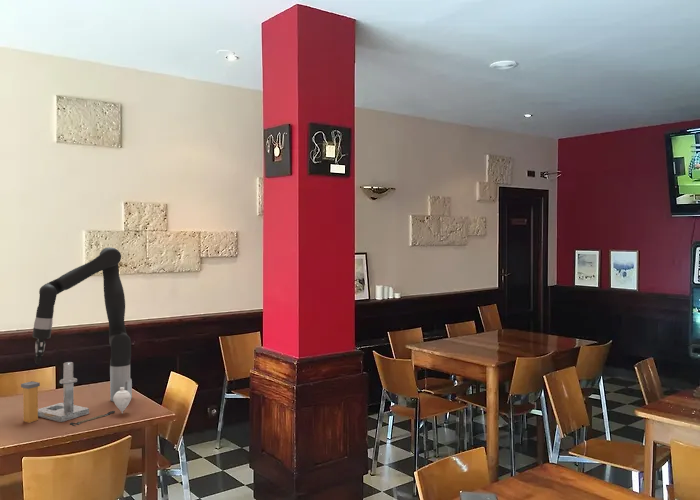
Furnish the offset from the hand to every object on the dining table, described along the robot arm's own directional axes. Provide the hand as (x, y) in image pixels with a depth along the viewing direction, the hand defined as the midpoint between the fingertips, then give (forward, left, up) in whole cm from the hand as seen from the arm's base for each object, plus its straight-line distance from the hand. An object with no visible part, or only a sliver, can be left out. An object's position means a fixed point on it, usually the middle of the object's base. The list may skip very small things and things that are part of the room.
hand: (37, 362), depth 272 cm
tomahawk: (-32, +14, -23) cm, 41 cm away
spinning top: (-40, +6, -23) cm, 47 cm away
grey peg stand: (-14, +7, -22) cm, 27 cm away
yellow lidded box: (-4, +15, -22) cm, 27 cm away
